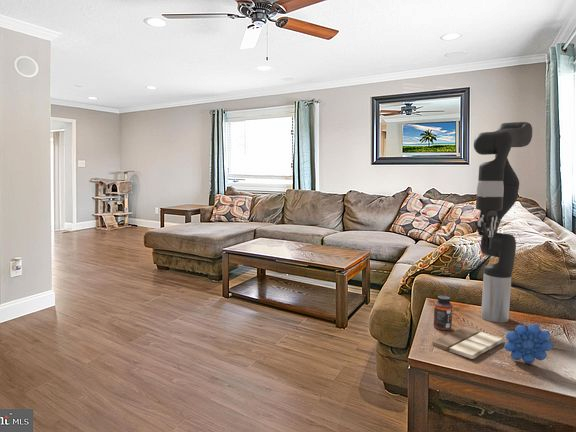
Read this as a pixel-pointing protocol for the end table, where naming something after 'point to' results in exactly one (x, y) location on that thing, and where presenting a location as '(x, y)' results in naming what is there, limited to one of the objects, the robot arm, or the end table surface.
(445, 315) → the supplement bottle
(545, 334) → the grapes
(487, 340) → the plank
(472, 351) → the plank
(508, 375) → the end table surface
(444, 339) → the laid plank
